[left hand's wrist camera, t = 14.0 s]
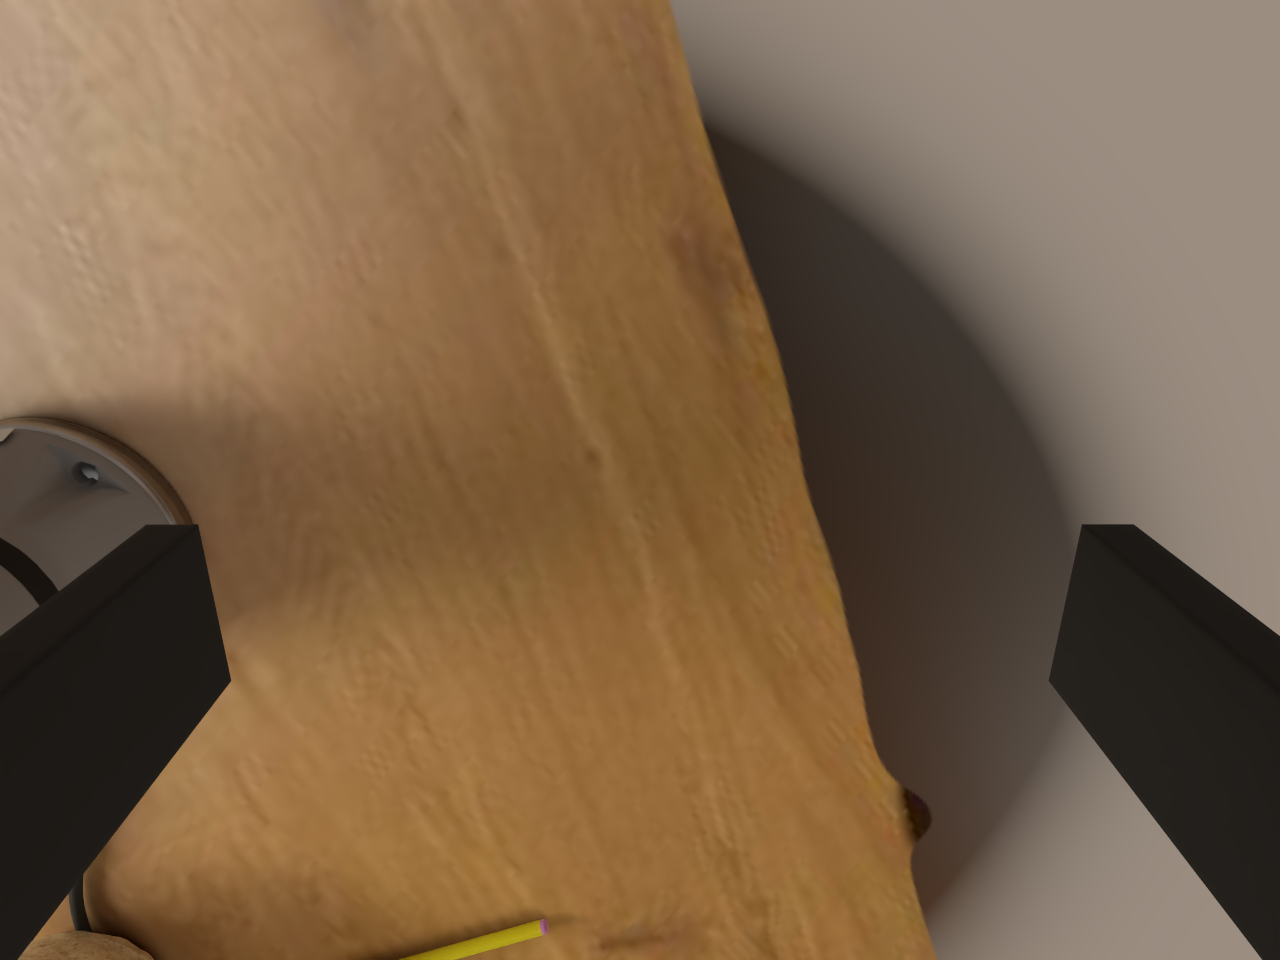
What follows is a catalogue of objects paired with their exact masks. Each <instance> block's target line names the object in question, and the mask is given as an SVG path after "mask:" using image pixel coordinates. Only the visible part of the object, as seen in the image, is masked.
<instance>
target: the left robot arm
mask: <svg viewBox="0 0 1280 960" xmlns="http://www.w3.org/2000/svg"><path fill="white" fill-rule="evenodd" d="M230 682H231V677H230V673H229V668H228V663H227V659H226V654H225V649H224V645H223V640H222V635H221V631H220V626H219V621H218V616H217V612H216V607H215V602H214V598H213V593H212V588H211V584H210V579H209V574H208V569H207V565H206V560H205V555H204V551H203V546H202V541H201V537H200V532H199V527H198V524H192V521H191V519H190V517H189V515H188V513H187V511H186V509H185V507H184V506H183V504H182V502H181V501H180V499H179V498H178V496H177V495H176V493H175V492H174V491H173V489H172V488H171V487H170V486H169V484H168V483H167V482H166V481H165V480H164V479H163V478H162V477H161V476H160V474H159V473H158V472H157V471H156V470H155V469H153V468H152V467H151V466H150V465H149V464H148V463H147V462H146V461H145V460H143V459H142V458H141V457H139V456H138V455H137V454H135V453H134V452H133V451H131V450H130V449H128V448H127V447H125V446H123V445H122V444H120V443H119V442H117V441H115V440H113V439H111V438H109V437H108V436H105V435H103V434H101V433H99V432H96V431H94V430H92V429H89V428H86V427H83V426H80V425H77V424H73V423H70V422H66V421H61V420H55V419H49V418H38V417H21V418H11V419H5V420H0V960H18V958H19V957H20V956H21V955H22V953H23V952H24V951H25V949H26V948H27V947H28V945H29V944H30V943H31V942H32V940H33V939H34V938H35V936H36V935H37V934H38V932H39V931H40V930H41V928H42V927H43V926H44V925H45V923H46V922H47V921H48V919H49V918H50V917H51V915H52V914H53V913H54V911H55V910H56V909H57V908H58V906H59V905H60V904H61V902H62V901H63V900H64V898H65V897H66V896H67V895H68V893H69V902H70V909H71V915H72V919H73V923H74V926H75V929H76V931H87V932H91V933H92V930H91V927H90V925H89V922H88V918H87V915H86V911H85V906H84V900H83V874H84V872H85V871H86V870H87V868H88V867H89V866H90V865H91V863H92V862H93V861H94V859H95V858H96V857H97V855H98V854H99V853H100V851H101V850H102V849H103V848H104V846H105V845H106V844H107V842H108V841H109V840H110V838H111V837H112V836H113V834H114V833H115V832H116V831H117V829H118V828H119V827H120V825H121V824H122V823H123V821H124V820H125V819H126V818H127V816H128V815H129V814H130V812H131V811H132V810H133V808H134V807H135V806H136V804H137V803H138V802H139V801H140V799H141V798H142V797H143V795H144V794H145V793H146V791H147V790H148V789H149V787H150V786H151V785H152V784H153V782H154V781H155V780H156V778H157V777H158V776H159V774H160V773H161V772H162V771H163V769H164V768H165V767H166V765H167V764H168V763H169V761H170V760H171V759H172V757H173V756H174V755H175V754H176V752H177V751H178V750H179V748H180V747H181V746H182V744H183V743H184V742H185V740H186V739H187V738H188V737H189V735H190V734H191V733H192V731H193V730H194V729H195V727H196V726H197V725H198V724H199V722H200V721H201V720H202V718H203V717H204V716H205V714H206V713H207V712H208V710H209V709H210V708H211V707H212V705H213V704H214V703H215V701H216V700H217V699H218V697H219V696H220V695H221V693H222V692H223V691H224V690H225V688H226V687H227V686H228V684H229V683H230ZM1049 682H1050V683H1051V684H1052V686H1053V687H1054V688H1055V689H1056V691H1057V692H1058V693H1059V695H1060V696H1061V697H1062V699H1063V700H1064V701H1065V703H1066V704H1067V705H1068V706H1069V708H1070V709H1071V710H1072V712H1073V713H1074V714H1075V716H1076V717H1077V718H1078V720H1079V721H1080V722H1081V724H1082V725H1083V726H1084V727H1085V729H1086V730H1087V731H1088V733H1089V734H1090V735H1091V737H1092V738H1093V739H1094V740H1095V742H1096V743H1097V744H1098V746H1099V747H1100V748H1101V750H1102V751H1103V752H1104V753H1105V755H1106V756H1107V757H1108V759H1109V760H1110V761H1111V763H1112V764H1113V765H1114V767H1115V768H1116V769H1117V770H1118V772H1119V773H1120V774H1121V776H1122V777H1123V778H1124V780H1125V781H1126V782H1127V783H1128V785H1129V786H1130V787H1131V789H1132V790H1133V791H1134V793H1135V794H1136V795H1137V797H1138V798H1139V799H1140V801H1141V802H1142V803H1143V804H1144V806H1145V807H1146V808H1147V810H1148V811H1149V812H1150V814H1151V815H1152V816H1153V817H1154V819H1155V820H1156V821H1157V823H1158V824H1159V825H1160V827H1161V828H1162V829H1163V831H1164V832H1165V833H1166V834H1167V836H1168V837H1169V838H1170V840H1171V841H1172V842H1173V844H1174V845H1175V846H1176V848H1177V849H1178V850H1179V851H1180V853H1181V854H1182V855H1183V857H1184V858H1185V859H1186V861H1187V862H1188V863H1189V865H1190V866H1191V867H1192V868H1193V870H1194V871H1195V872H1196V874H1197V875H1198V876H1199V878H1200V879H1201V880H1202V881H1203V883H1204V884H1205V885H1206V887H1207V888H1208V889H1209V891H1210V892H1211V893H1212V894H1213V896H1214V897H1215V898H1216V900H1217V901H1218V902H1219V904H1220V905H1221V906H1222V908H1223V909H1224V910H1225V912H1226V913H1227V914H1228V915H1229V917H1230V918H1231V919H1232V921H1233V922H1234V923H1235V925H1236V926H1237V927H1238V928H1239V930H1240V931H1241V932H1242V934H1243V935H1244V936H1245V938H1246V939H1247V940H1248V942H1249V943H1250V944H1251V945H1252V947H1253V948H1254V949H1255V951H1256V952H1257V953H1258V955H1259V956H1260V957H1261V958H1262V960H1280V636H1279V635H1278V634H1276V633H1275V632H1274V631H1272V630H1271V629H1270V628H1268V627H1267V626H1266V625H1264V624H1263V623H1262V622H1260V621H1259V620H1258V619H1257V618H1255V617H1254V616H1253V615H1251V614H1250V613H1249V612H1247V611H1246V610H1245V609H1244V608H1242V607H1241V606H1240V605H1238V604H1237V603H1236V602H1234V601H1233V600H1232V599H1230V598H1229V597H1228V596H1226V595H1225V594H1224V593H1223V592H1221V591H1220V590H1219V589H1217V588H1216V587H1215V586H1213V585H1212V584H1211V583H1210V582H1208V581H1207V580H1206V579H1204V578H1203V577H1202V576H1200V575H1199V574H1198V573H1196V572H1195V571H1194V570H1192V569H1191V568H1190V567H1189V566H1187V565H1186V564H1185V563H1183V562H1182V561H1181V560H1179V559H1178V558H1177V557H1176V556H1174V555H1173V554H1172V553H1170V552H1169V551H1168V550H1166V549H1165V548H1164V547H1162V546H1161V545H1160V544H1159V543H1157V542H1156V541H1155V540H1153V539H1152V538H1151V537H1149V536H1148V535H1147V534H1145V533H1144V532H1143V531H1142V530H1140V529H1139V528H1138V527H1136V526H1135V525H1133V524H1131V525H1130V524H1128V525H1127V524H1126V525H1123V524H1119V525H1118V524H1115V525H1113V524H1112V525H1110V524H1109V525H1108V524H1107V525H1106V524H1105V525H1101V524H1099V525H1096V524H1095V525H1094V524H1092V525H1089V524H1087V525H1084V524H1083V525H1082V527H1081V532H1080V537H1079V541H1078V546H1077V551H1076V555H1075V560H1074V565H1073V569H1072V574H1071V579H1070V584H1069V588H1068V593H1067V598H1066V602H1065V607H1064V612H1063V617H1062V621H1061V626H1060V631H1059V635H1058V640H1057V645H1056V649H1055V654H1054V659H1053V663H1052V668H1051V673H1050V677H1049Z"/></svg>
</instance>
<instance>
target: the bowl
mask: <svg viewBox="0 0 1280 960" xmlns="http://www.w3.org/2000/svg"><path fill="white" fill-rule="evenodd" d="M18 960H154V959H153V958H152V957H151V956H150V955H149V954H148V953H147V952H145V951H143V950H141V949H139V948H138V947H137V946H135V945H134V944H132V943H131V942H129V941H128V940H126V939H124V938H121V937H118V936H117V937H116V936H111V935H106V934H98V933H91V932H87V931H71V932H61V933H57V934H53V935H49V936H44V937H41V938H38V939H35V940H33V941H32V942H31V943H30V944H29V945H28V947H27V948H26V949H25V951H24V952H23V953H22V955H21V956H20V957H19V958H18Z"/></svg>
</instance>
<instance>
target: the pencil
mask: <svg viewBox="0 0 1280 960" xmlns="http://www.w3.org/2000/svg"><path fill="white" fill-rule="evenodd" d="M548 932H549V927H548V922H547V920H546V919H540V920H537V921H533V922H529V923H526V924H522V925H519V926H515V927H512V928H508V929H505V930H501V931H498V932H494V933H491V934H487V935H484V936H480V937H476V938H473V939H469V940H466V941H462V942H459V943H455V944H452V945H448V946H445V947H441V948H438V949H434V950H430V951H427V952H423V953H420V954H416V955H413V956H409V957H406V958H402V959H399V960H456V959H460V958H463V957H467V956H470V955H474V954H477V953H481V952H485V951H488V950H492V949H495V948H499V947H502V946H506V945H510V944H513V943H517V942H520V941H524V940H528V939H531V938H535V937H538V936H542V935H546V934H548Z"/></svg>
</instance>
